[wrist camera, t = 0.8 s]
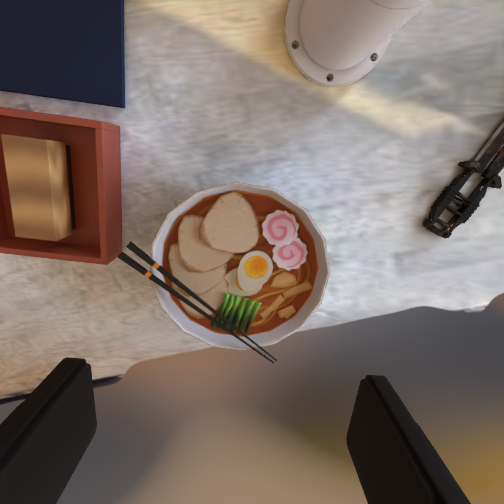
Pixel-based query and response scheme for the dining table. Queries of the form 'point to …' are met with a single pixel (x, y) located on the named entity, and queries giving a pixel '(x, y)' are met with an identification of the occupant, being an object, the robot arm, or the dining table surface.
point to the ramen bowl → (237, 266)
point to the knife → (453, 189)
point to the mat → (64, 49)
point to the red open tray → (84, 187)
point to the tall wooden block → (39, 187)
